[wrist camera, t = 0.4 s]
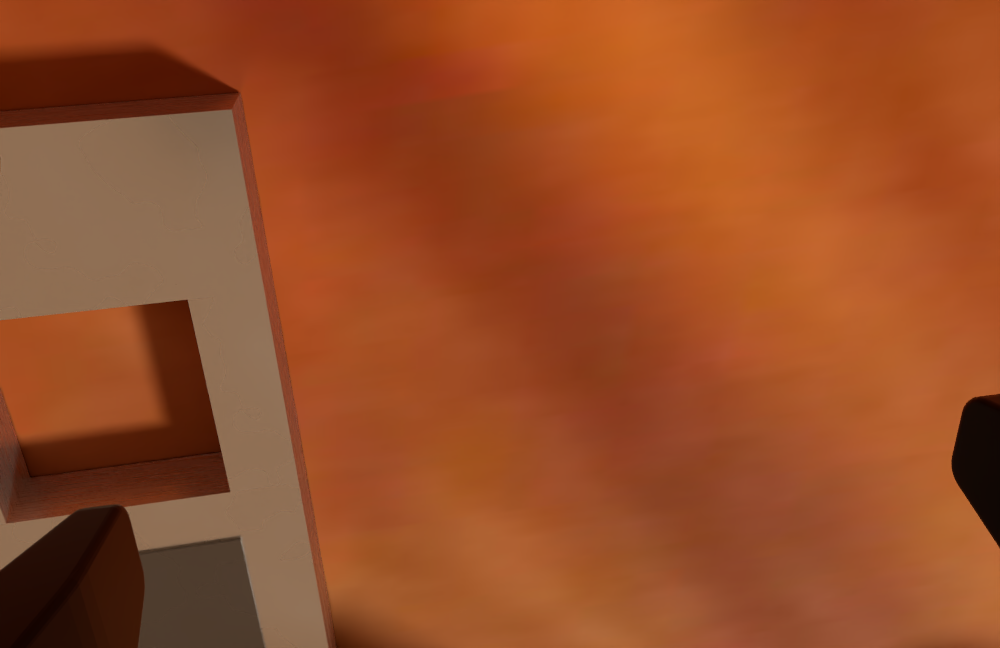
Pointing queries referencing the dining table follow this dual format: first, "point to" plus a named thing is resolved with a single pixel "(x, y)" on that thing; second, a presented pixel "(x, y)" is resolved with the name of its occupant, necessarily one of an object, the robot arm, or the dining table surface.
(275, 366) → the square hole board
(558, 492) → the dining table surface
